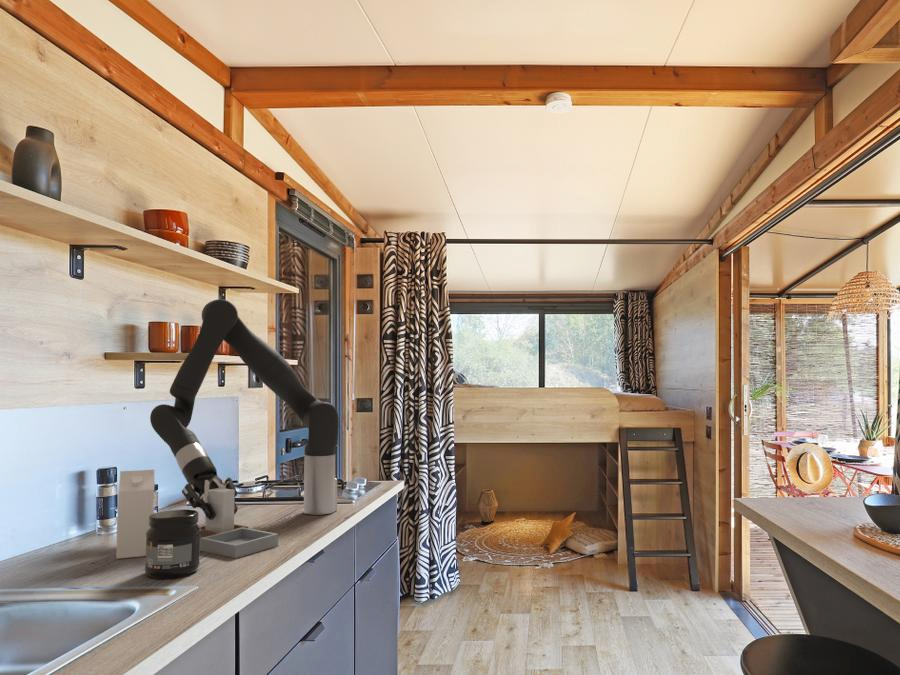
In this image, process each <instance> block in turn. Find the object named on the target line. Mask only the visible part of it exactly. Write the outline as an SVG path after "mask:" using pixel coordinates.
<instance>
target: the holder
mask: <svg viewBox="0 0 900 675" xmlns="http://www.w3.org/2000/svg"><path fill="white" fill-rule="evenodd" d="M199 526H200V528H201V532H200V538H203V537H207V536H211V535H215V534H219V532H214V531H209V530H205V524H204V525H199ZM239 528H249V526H247V525H241V524H236V523H234V529H232V530H235V529H239ZM228 531H231V530H228ZM224 532H227V531H224ZM220 533H223V532H220Z"/></svg>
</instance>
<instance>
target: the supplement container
mask: <svg viewBox="0 0 900 675" xmlns="http://www.w3.org/2000/svg"><path fill="white" fill-rule="evenodd" d="M199 514H200V513H199V512H198V511H197V510H193V509H169V510H168V509H167V510H162V511H158V512H157V511H156V512H154V514H152V515H150V516H149V526H150V528H149V529H148V531H147V532H146V556H145V565H144V566H145V567H144V573H145V575H147V576H148V577H150V578H153V579H158V580H159V579H160V580H164V579H165V580H166V579H167V580H168V579H177V578H178V579H179V578H181V577H184V576H189V575H192V574H193V573H195V572H196V571H197V570H198V569H199V567H200V562H201V561H200V552H201V551H200V532H201V528H200V526H201V525H199V524H198V522H199Z"/></svg>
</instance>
